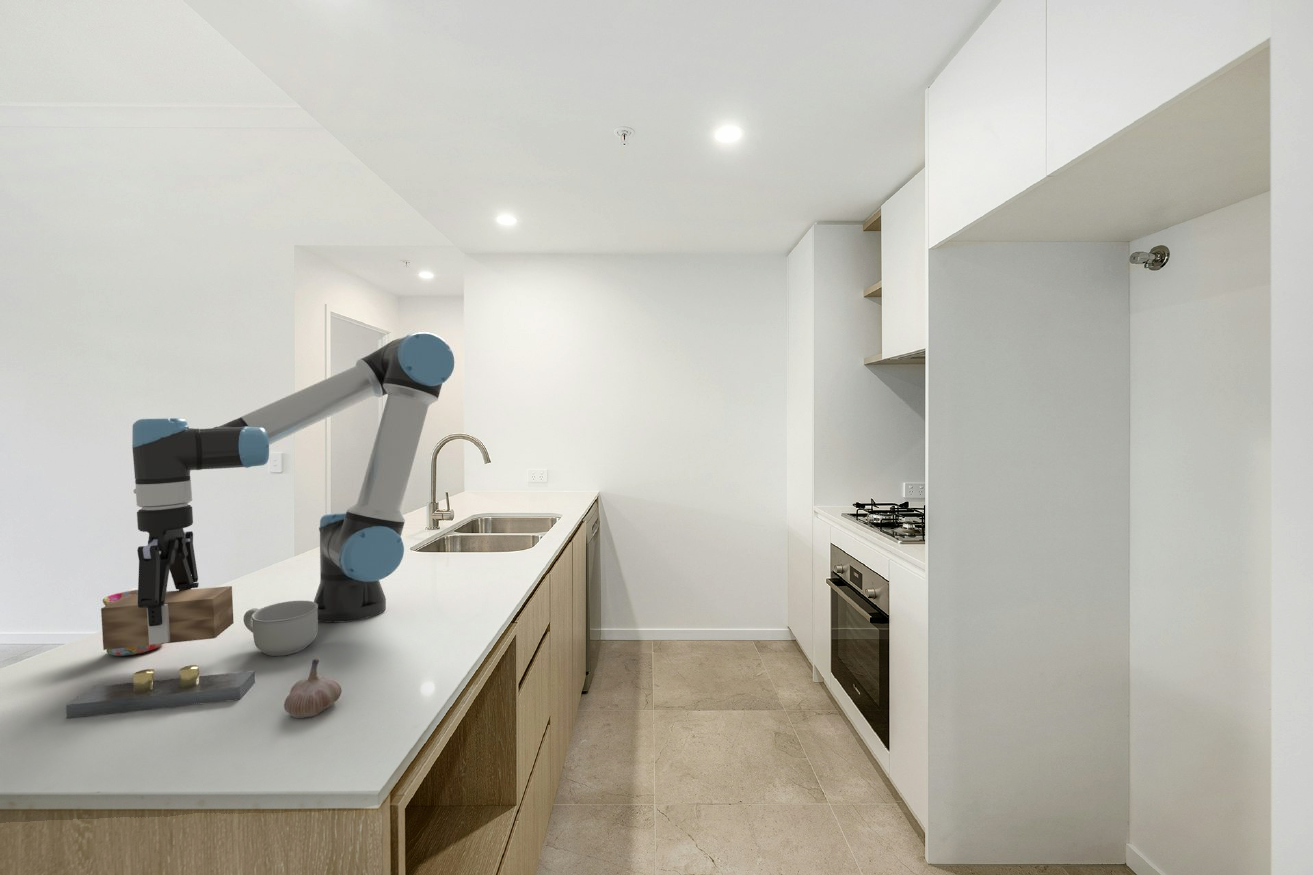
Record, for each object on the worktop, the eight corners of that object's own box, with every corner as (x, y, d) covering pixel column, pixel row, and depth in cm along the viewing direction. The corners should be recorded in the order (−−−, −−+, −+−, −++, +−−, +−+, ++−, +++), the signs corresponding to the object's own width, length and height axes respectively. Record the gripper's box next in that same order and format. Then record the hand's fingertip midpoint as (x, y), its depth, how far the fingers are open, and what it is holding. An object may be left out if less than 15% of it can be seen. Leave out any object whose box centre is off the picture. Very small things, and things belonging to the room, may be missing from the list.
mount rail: (255, 682, 100) (254, 655, 99) (240, 699, 93) (239, 670, 93) (94, 698, 93) (93, 669, 93) (66, 718, 87) (66, 687, 87)
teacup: (331, 643, 117) (331, 603, 117) (280, 664, 107) (280, 620, 107) (279, 635, 122) (278, 596, 122) (225, 654, 112) (224, 612, 111)
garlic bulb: (339, 695, 95) (339, 645, 95) (344, 714, 89) (343, 660, 89) (283, 707, 91) (283, 655, 91) (284, 727, 85) (284, 672, 85)
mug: (153, 656, 111) (153, 599, 110) (91, 662, 108) (90, 603, 108) (183, 634, 122) (182, 583, 122) (127, 639, 119) (127, 586, 119)
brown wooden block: (233, 622, 112) (231, 586, 111) (214, 638, 104) (212, 598, 104) (130, 633, 107) (128, 594, 107) (103, 649, 100) (101, 608, 99)
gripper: (169, 499, 114) (176, 617, 115) (102, 517, 94) (111, 659, 95) (215, 496, 116) (222, 612, 117) (159, 514, 96) (167, 653, 97)
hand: (172, 633), depth 106 cm, fingers closed on brown wooden block, 8 cm apart
